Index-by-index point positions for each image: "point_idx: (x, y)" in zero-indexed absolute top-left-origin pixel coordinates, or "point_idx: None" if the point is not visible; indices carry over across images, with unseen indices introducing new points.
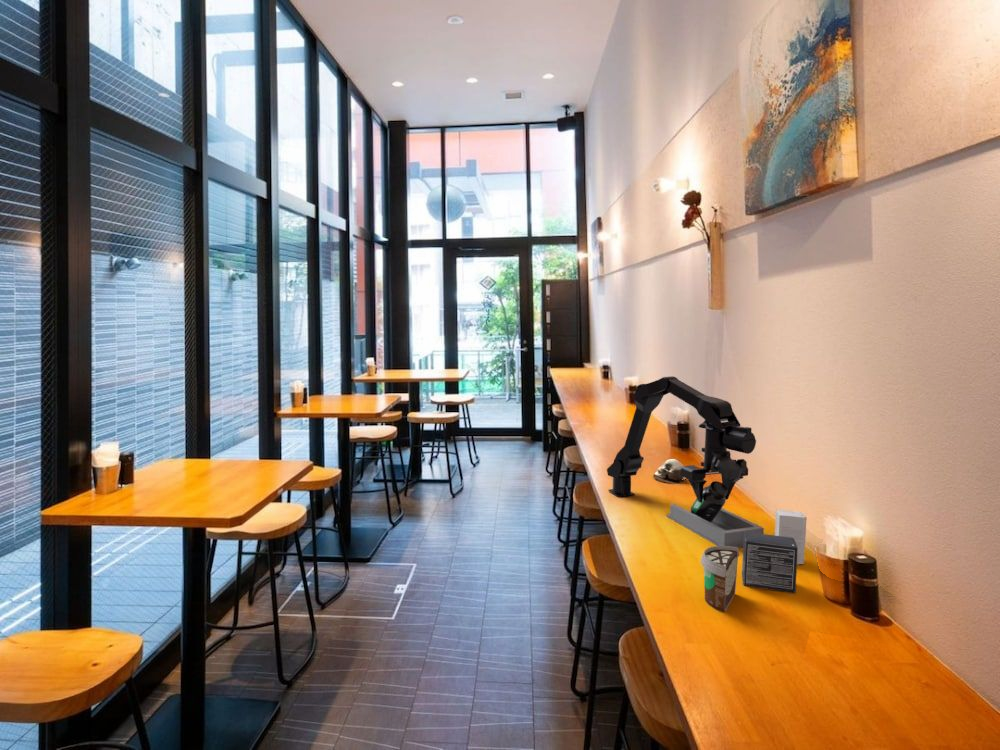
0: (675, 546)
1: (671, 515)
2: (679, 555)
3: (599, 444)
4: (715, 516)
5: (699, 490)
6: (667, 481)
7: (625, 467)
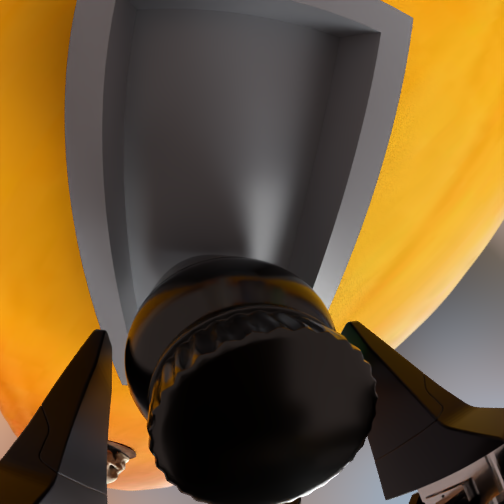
0: (463, 149)
1: None
2: (492, 103)
3: (146, 487)
4: (187, 260)
5: (435, 384)
6: (117, 446)
7: None
